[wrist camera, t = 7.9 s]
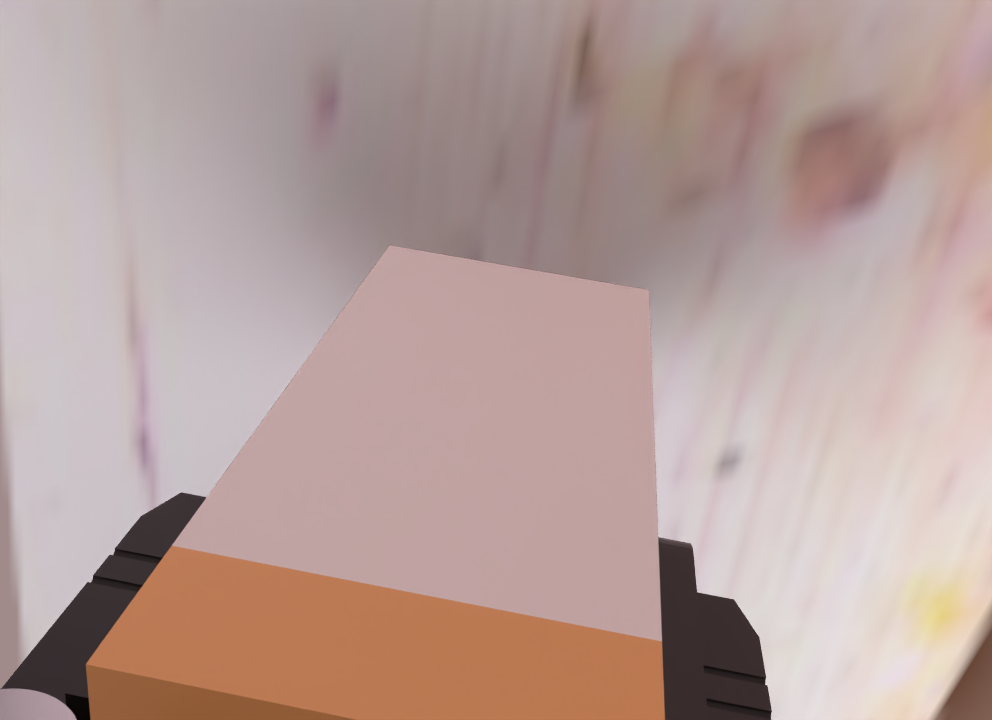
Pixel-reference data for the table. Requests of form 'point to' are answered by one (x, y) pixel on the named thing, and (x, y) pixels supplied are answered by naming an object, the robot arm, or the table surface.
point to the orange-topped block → (423, 521)
